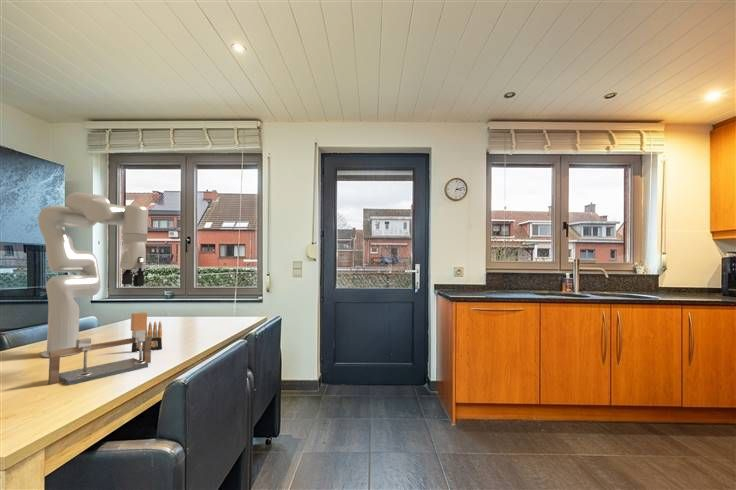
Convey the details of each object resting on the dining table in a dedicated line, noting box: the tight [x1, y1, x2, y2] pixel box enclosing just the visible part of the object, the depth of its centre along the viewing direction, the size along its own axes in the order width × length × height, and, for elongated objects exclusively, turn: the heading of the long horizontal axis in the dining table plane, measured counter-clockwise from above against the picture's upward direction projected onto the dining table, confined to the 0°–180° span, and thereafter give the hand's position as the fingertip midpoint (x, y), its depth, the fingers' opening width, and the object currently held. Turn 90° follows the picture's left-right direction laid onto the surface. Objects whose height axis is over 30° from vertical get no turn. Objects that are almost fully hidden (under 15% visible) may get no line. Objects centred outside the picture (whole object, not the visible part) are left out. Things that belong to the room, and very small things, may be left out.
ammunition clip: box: [131, 320, 163, 353], centre depth 144 cm, size 11×2×12 cm, turn 116°
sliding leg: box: [130, 311, 148, 361], centre depth 124 cm, size 5×4×16 cm
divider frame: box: [48, 334, 153, 385], centre depth 116 cm, size 4×28×12 cm, turn 145°
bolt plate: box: [59, 357, 149, 386], centre depth 116 cm, size 12×23×1 cm, turn 145°
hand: (132, 285), depth 126 cm, fingers open, 9 cm apart
